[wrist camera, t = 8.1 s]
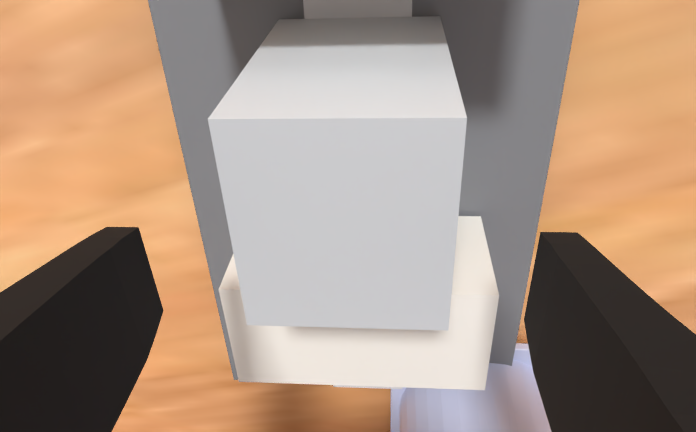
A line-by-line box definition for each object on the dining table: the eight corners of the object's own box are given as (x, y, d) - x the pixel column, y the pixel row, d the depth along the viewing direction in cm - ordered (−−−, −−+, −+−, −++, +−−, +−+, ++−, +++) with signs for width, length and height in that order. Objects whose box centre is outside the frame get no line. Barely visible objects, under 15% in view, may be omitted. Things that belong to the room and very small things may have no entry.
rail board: (503, 370, 24) (508, 392, 23) (239, 362, 25) (233, 383, 24) (671, -591, 10) (701, -640, 9) (50, -524, 11) (16, -562, 10)
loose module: (431, 174, 18) (448, 330, 12) (294, 174, 18) (247, 325, 12) (439, 16, 15) (466, 117, 9) (278, 19, 15) (207, 119, 10)
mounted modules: (470, 304, 21) (484, 390, 17) (263, 299, 21) (238, 381, 18) (533, -242, 12) (585, -279, 9) (178, -221, 13) (99, -248, 9)
